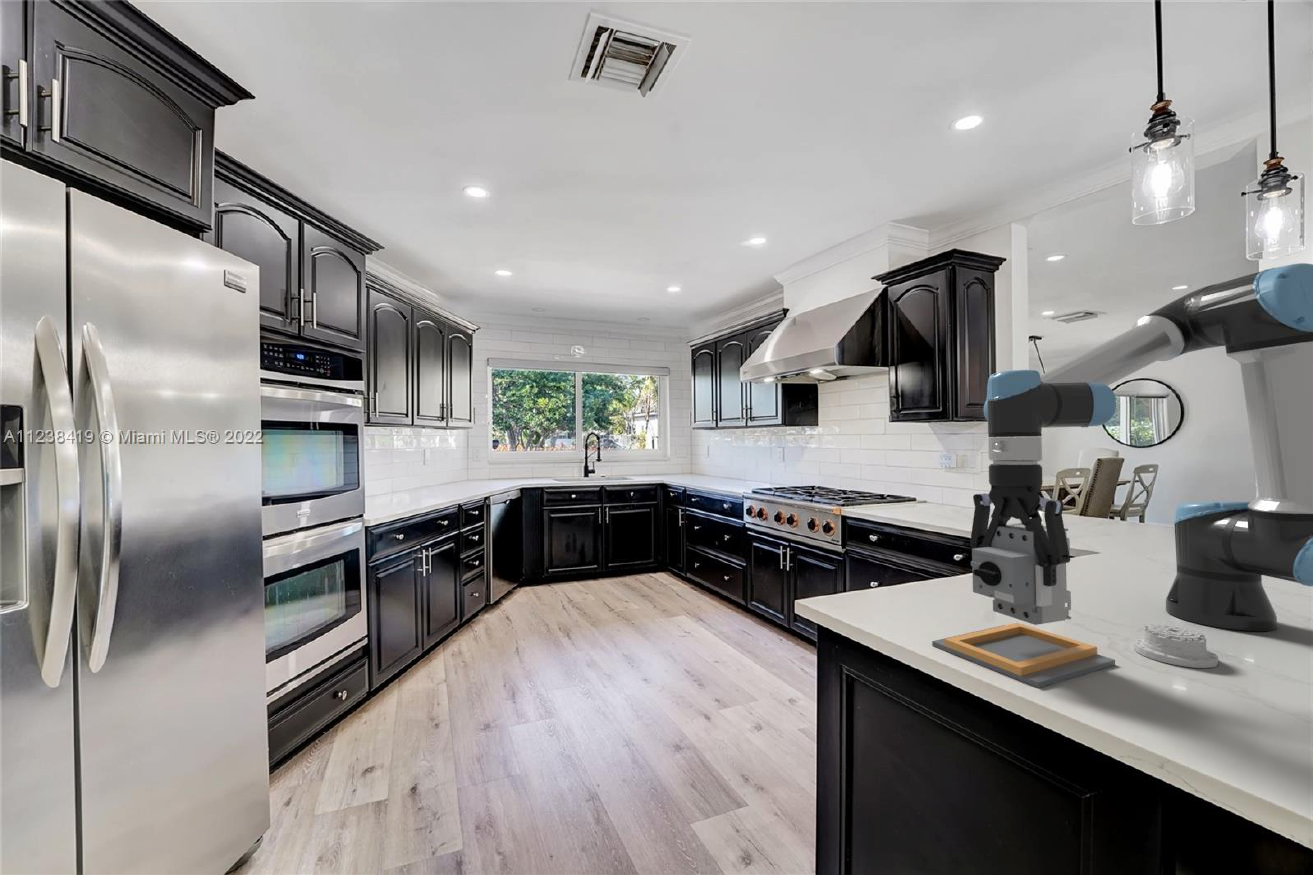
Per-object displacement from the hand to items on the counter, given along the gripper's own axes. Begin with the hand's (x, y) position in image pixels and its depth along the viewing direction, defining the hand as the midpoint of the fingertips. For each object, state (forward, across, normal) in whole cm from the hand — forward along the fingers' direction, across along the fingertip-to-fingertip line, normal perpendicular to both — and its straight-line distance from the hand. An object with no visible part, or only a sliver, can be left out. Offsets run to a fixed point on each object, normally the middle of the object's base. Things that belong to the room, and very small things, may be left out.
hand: (1017, 598), depth 91 cm
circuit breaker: (+3, 0, 0) cm, 3 cm away
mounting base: (+10, 0, 0) cm, 10 cm away
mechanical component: (+10, +11, +22) cm, 27 cm away
